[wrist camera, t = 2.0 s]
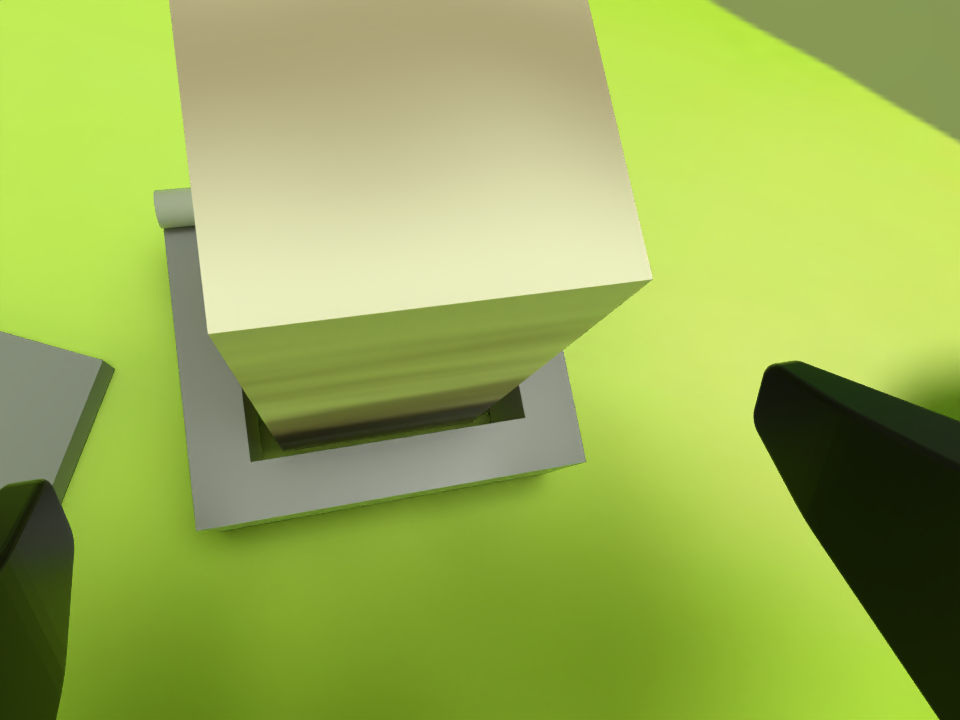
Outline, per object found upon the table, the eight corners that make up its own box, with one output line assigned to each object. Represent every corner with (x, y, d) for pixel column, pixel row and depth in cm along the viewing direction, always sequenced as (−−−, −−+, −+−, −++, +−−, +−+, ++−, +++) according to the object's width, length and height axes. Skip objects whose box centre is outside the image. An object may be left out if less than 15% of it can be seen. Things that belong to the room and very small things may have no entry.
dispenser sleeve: (544, 473, 20) (598, 458, 16) (221, 531, 19) (188, 531, 14) (494, 218, 22) (532, 145, 18) (189, 249, 20) (150, 174, 16)
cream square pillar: (472, 421, 20) (652, 279, 9) (283, 451, 19) (208, 333, 8) (447, 281, 21) (582, -19, 10) (263, 302, 20) (167, -7, 8)
